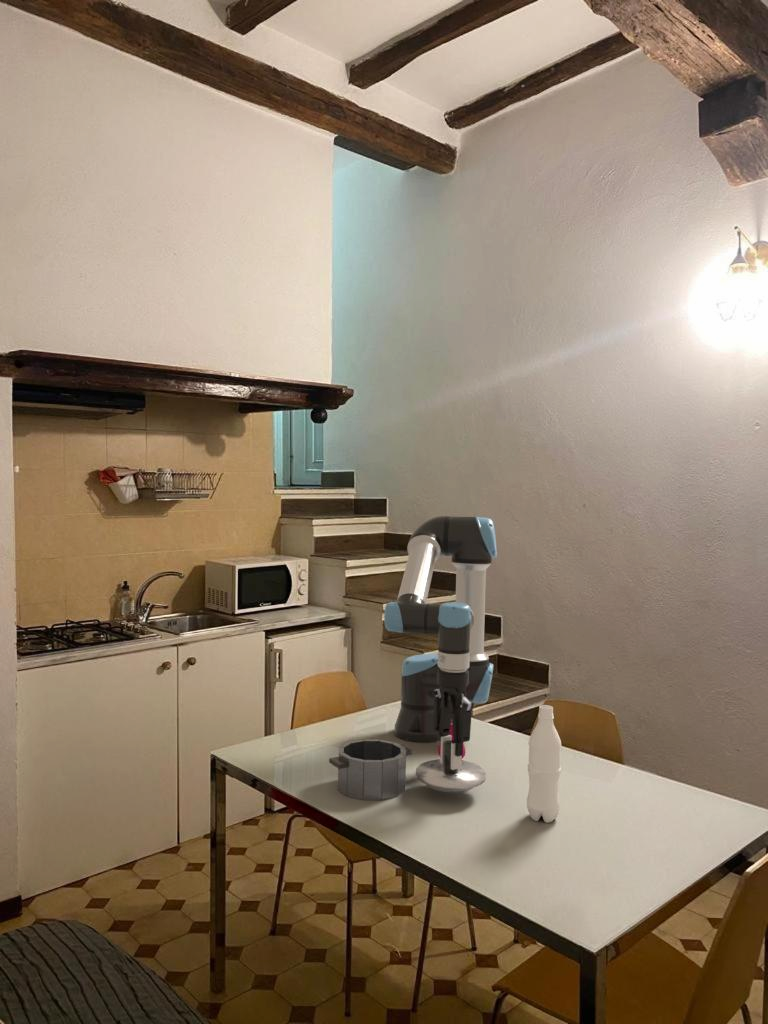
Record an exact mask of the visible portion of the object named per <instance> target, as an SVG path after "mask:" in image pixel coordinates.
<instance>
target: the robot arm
mask: <svg viewBox="0 0 768 1024" xmlns="http://www.w3.org/2000/svg"><path fill="white" fill-rule="evenodd" d="M413 531H414V532H413V533H412V534H411V536H410V538H409V539H408V544H407V547H406V548H407V549H406V550H407V554H408V558H407V562H406V564H405V567H404V568H405V569H404V573H403V576H402V579H401V583H400V587H399V592H398V596H397V599H396V600H395V601H389V602H387V603H386V605H385V608H384V615H383V616H384V618H383V619H384V620H383V621H384V627H385V629H386V630H387V631H388V632H394V633H400V634H403V633H404V634H425V635H436V636H437V635H438V636H437V637H438V639H437V640H438V641H437V642H438V643H437V644H438V645H437V646H438V647H437V654H436V653H421V654H416V655H411V656H408V657H407V658H404V660H403V661H402V664H401V665H402V666H401V674H400V675H401V684H400V685H401V688H400V689H401V690H400V691H401V692H400V693H401V695H400V697H401V698H400V710H399V712H398V715H397V718H396V722H395V724H394V730H393V731H394V736H395V737H397V738H398V739H402V740H405V741H408V742H409V741H411V742H416V743H417V742H418V743H419V742H420V743H424V742H425V743H426V742H427V743H429V742H435V741H440V742H439V743H440V748H441V754H440V757H439V759H440V763H441V764H444V742H445V741H449V740H452V736H451V735H448V734H451V733H452V732H451V731H450V726H451V719H452V726H453V738H454V740H453V741H451V769H452V770H454V769H459V768H462V760H463V759H462V755H463V743H465V742H469V741H470V739H471V726H472V713H473V708H474V705H475V704H484V703H487V702H488V700H489V695H490V692H491V691H490V690H491V686H492V679H493V671H494V664H493V663H491V662H489V659H490V658H489V655H488V654H487V653H486V652H485V623H486V622H485V620H486V619H485V617H486V615H485V614H486V584H487V582H486V581H487V569H488V568H489V567H490V566H491V565H492V561H493V560H492V559H496V558H497V557H498V551H497V540H496V539H497V538H496V530H495V524H494V522H493V520H492V518H489V517H482V516H481V517H480V516H449V515H448V516H447V515H445V516H444V515H439V516H435V517H432V518H430V519H428V520H426V521H424V522H423V523H421V524H420V525H419V526H418V527H417V528H416V529H415V530H413ZM440 556H443V557H444V556H445V557H451V564H452V565H453V566H454V567H455V568H456V574H455V602H454V601H453V602H452V601H451V602H445V603H442V604H436V603H427V601H428V597H429V591H430V587H431V583H432V578H433V572H434V568H435V563H436V561H437V560H438V559H439V558H440ZM458 708H459V709H458Z"/></svg>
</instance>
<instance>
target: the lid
mask: <svg viewBox="0 0 768 1024" xmlns="http://www.w3.org/2000/svg"><path fill="white" fill-rule="evenodd" d="M451 741H452V740H449V741H445V742H444V764H441V763H440V758H439V759H438V758H436V759H431V760H427V761H425V762H422V763H420V764H419V765H418V766H417V767H416V769H415V777H416V779H417V780H418V781H420V783H422V784H425V785H426V786H427V787H428V788H431V789H432V790H435V791H439V792H444V793H464V792H469V791H471V790H473V789H474V788H477V787H479V786H481V785H483V783H485V781H486V774H487V773H486V771H485V769H484V768H483V767H482V766H480V765H478V764H476V763H474V762H471V761H466V760H463V759H462V768H459V769H454V770H452V769H451Z"/></svg>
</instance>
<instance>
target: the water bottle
mask: <svg viewBox="0 0 768 1024" xmlns="http://www.w3.org/2000/svg"><path fill="white" fill-rule="evenodd" d="M537 718H538V720H537V724H536V725H535V727H534V729H533V730H532V732H531V734H530V737H529V740H528V746H529V747H528V764H527V773H528V777H529V778H528V780H529V782H528V783H529V785H528V786H529V787H528V793H527V796H526V808H527V811H528V813H529V816H530V818H531V819H532V820H533V821H535V822H538V821H539V820H540V818H541V817H542V819H543V821H544V823H545V824H546V823H551V822H553V820H556V818H557V817H558V815H559V812H560V803H561V802H560V796H559V780H560V776H561V771H562V768H561V753H562V741H561V738H560V736H559V732H558V730H557V729H556V727H555V724H554V719H555V717H554V707H553V706H551V705H547V704H543V705H541V704H540V705H539V709H538V715H537Z"/></svg>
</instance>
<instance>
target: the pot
mask: <svg viewBox="0 0 768 1024" xmlns="http://www.w3.org/2000/svg"><path fill="white" fill-rule="evenodd" d="M414 751H415V750H413V748H412V749H411V748H410V747H408V746H406V745H404V744H399V743H397V742H395V741H388V740H384V739H358V740H352V741H348V742H346V743H343V744H342V745H340V746H339V747H338V756H335V757H329V758H328V762H329V764H331V765H332V766H334V767H335V768H337V769H338V770H337V771H338V772H337V773H338V774H337V775H338V776H337V791H338V792H340V793H341V794H343V795H344V796H346V797H348V798H352V799H357V800H361V801H383V800H384V801H385V800H388V799H393V798H396V797H399V796H400V795H402V794H403V793H404V792H406V777H407V775H406V774H407V771H406V769H407V768H406V767H407V766H406V765H407V756H413V755H414Z"/></svg>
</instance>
